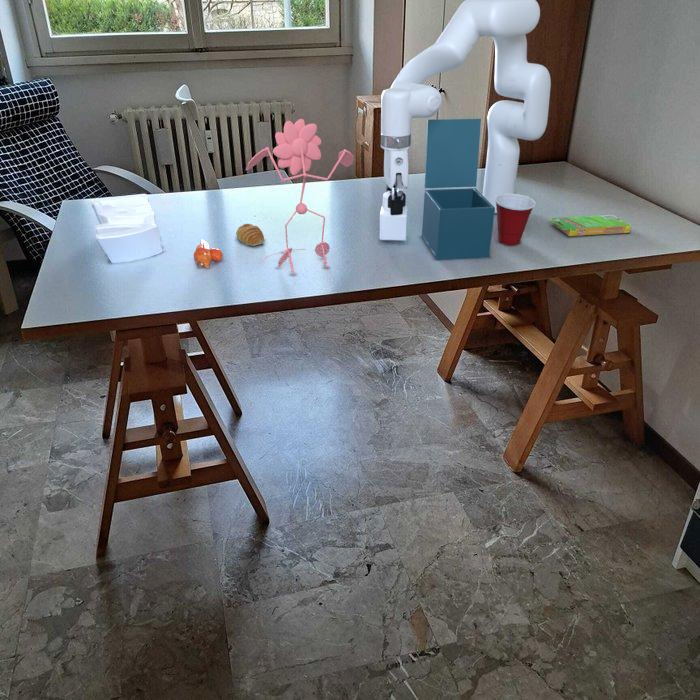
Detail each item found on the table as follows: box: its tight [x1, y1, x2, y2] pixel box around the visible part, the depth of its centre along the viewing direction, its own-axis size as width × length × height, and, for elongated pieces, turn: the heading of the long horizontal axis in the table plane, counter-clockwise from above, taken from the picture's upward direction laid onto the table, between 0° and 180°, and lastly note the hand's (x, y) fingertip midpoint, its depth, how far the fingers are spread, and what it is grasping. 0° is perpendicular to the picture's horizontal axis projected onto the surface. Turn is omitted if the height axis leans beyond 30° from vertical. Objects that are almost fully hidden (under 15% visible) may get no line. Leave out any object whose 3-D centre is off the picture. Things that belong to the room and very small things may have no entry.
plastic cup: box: [495, 193, 537, 247], centre depth 178 cm, size 11×11×12 cm
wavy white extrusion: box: [89, 193, 163, 264], centre depth 175 cm, size 35×16×10 cm, turn 18°
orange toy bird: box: [193, 239, 223, 269], centre depth 166 cm, size 5×8×12 cm
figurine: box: [245, 118, 355, 275], centre depth 160 cm, size 15×26×35 cm, turn 118°
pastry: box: [235, 223, 265, 247], centre depth 179 cm, size 9×7×4 cm
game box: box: [549, 214, 632, 237], centre depth 190 cm, size 3×10×20 cm
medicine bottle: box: [379, 190, 409, 242], centre depth 176 cm, size 7×7×12 cm
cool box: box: [421, 187, 495, 261], centre depth 175 cm, size 17×14×13 cm
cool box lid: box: [424, 118, 482, 189], centre depth 177 cm, size 17×14×6 cm
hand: (393, 209), depth 176 cm, fingers closed on medicine bottle, 6 cm apart
